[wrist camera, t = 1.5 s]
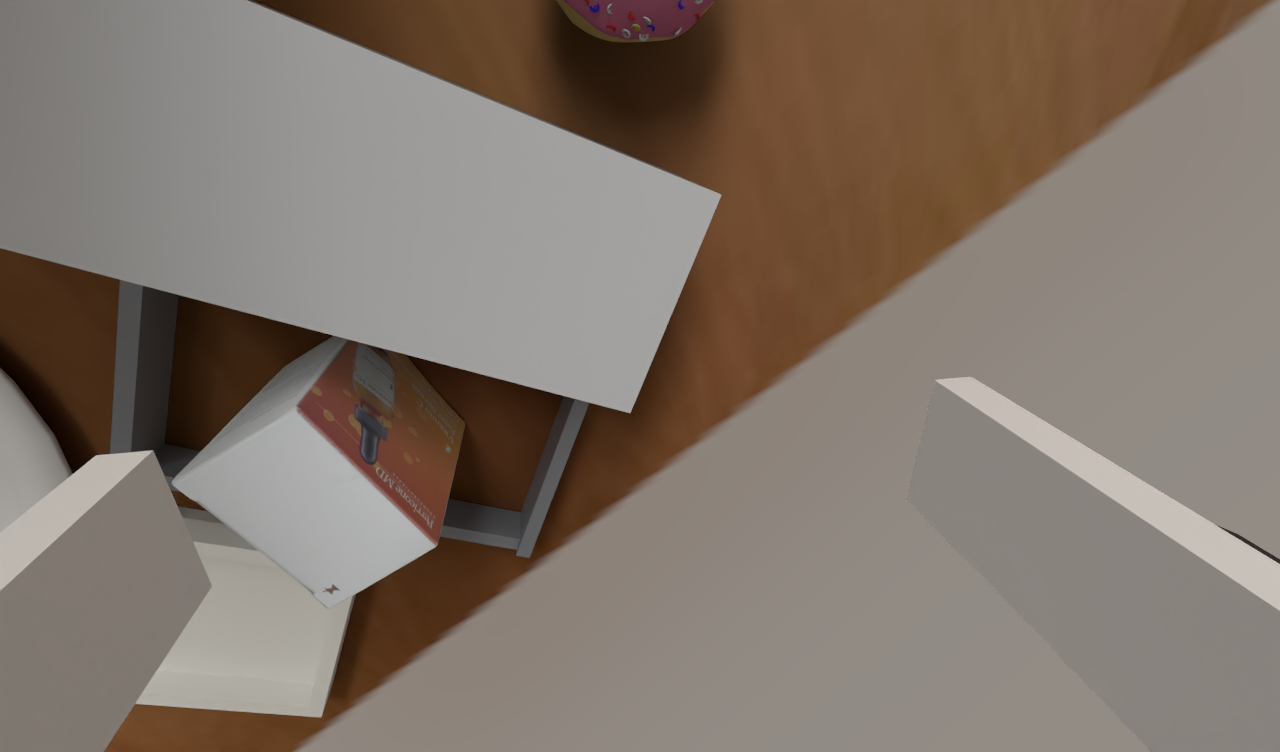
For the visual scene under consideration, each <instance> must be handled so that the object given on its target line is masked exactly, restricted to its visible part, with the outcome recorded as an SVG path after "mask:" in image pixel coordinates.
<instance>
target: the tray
mask: <svg viewBox="0 0 1280 752" xmlns="http://www.w3.org/2000/svg"><path fill="white" fill-rule="evenodd" d="M178 508H179V511H180V513H181V515H182V518H183V520H184V522H185V525H186V527H187V529H188V531H189V534H190V536H191V538H192V541H193V543H194V545H195V548H196V550H197V552H198V554H199V557H200V559H201V561H202V564H203V566H204V568H205V571H206V573H207V575H208V577H209V580H210V582H211V584H212V587H211V589H210V590H209V592H208V593H207V595H206V596H205V598H204V600H203V601H202V603H201V604H200V606H199V607H198V609H197V610H196V612H195V613H194V615H193V616H192V618H191V619H190V621H189V622H188V624H187V625H186V627H185V628H184V630H183V632H182V633H181V635H180V636H179V638H178V639H177V641H176V642H175V644H174V645H173V647H172V648H171V650H170V651H169V653H168V654H167V656H166V657H165V659H164V660H163V662H162V664H161V665H160V667H159V668H158V670H157V671H156V673H155V674H154V676H153V677H152V679H151V680H150V682H149V683H148V685H147V686H146V688H145V689H144V691H143V692H142V694H141V696H140V697H139V699H138V700H137V702H136V703H135V704H145V705H159V706H173V707H186V708H200V709H213V710H227V711H240V712H254V713H267V714H281V715H294V716H308V717H322V714H323V711H324V708H325V705H326V702H327V699H328V696H329V693H330V691H331V688H332V685H333V681H334V677H335V673H336V669H337V666H338V662H339V658H340V654H341V650H342V646H343V642H344V639H345V635H346V631H347V627H348V623H349V619H350V615H351V612H352V608H353V604H354V600H355V596H356V594H355V595H353V596H352V597H350V598H348V599H346V600H344V601H343V602H341V603H339V604H337V605H336V606H334V607H332V608H330V609H327V608H326V607H325V606H324V605H323V604H322V603H321V602H320V601H318V600H317V599H316V598H315V597H314V596H313V595H312V594H311V593H310V592H309V591H307V590H306V589H305V588H304V587H303V586H302V585H300V584H299V583H298V582H297V581H296V580H294V579H293V578H292V577H291V576H289V575H288V574H287V573H286V572H284V571H283V570H282V569H281V568H280V567H278V566H277V565H276V564H275V563H273V562H272V561H271V560H270V559H268V558H267V557H266V556H265V555H263V554H262V553H261V552H259V551H258V550H257V549H256V548H254V547H253V546H252V545H251V544H249V543H248V542H247V541H246V540H244V539H243V538H242V537H241V536H239V535H238V534H237V533H236V532H234V531H233V530H232V529H231V528H229V527H228V526H227V525H225V524H224V523H223V522H222V521H220V520H219V519H218V518H216V517H215V516H214V515H213V514H211V513H210V512H209V511H204V510H198V509H192V508H186V507H180V506H178Z"/></svg>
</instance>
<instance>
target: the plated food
mask: <svg viewBox="0 0 1280 752" xmlns="http://www.w3.org/2000/svg"><path fill="white" fill-rule="evenodd" d="M72 474H73V473H72V471H71V469H70V467H69V465H68V462H67V460H66V458H65V456H64V454H63V452H62V450H61V448H60V445H59V443H58V441H57V439H56V437H55V435H54V433H53V432H52V431H51V429H50V428H49V427H48V425H47V424H46V423H45V421H44V420H43V419H42V417H41V416H40V415H39V413H38V412H37V411H36V409H35V408H34V407H33V405H32V404H31V403H30V401H29V400H28V399H27V397H26V396H25V395H24V394H23V392H22V391H21V390H20V388H19V387H18V386H17V384H16V383H15V382H14V381H13V380H12V379H11V378H10V377H9V376H8V375H7V374H6V373H5V372H4V371H3V370H2V369H1V368H0V533H1V532H2V531H3V530H4V529H6V528H7V527H8V526H9V525H11V524H12V523H13V522H14V521H15V520H17V519H18V518H19V517H20V516H22V515H23V514H24V513H25V512H27V511H28V510H29V509H30V508H32V507H33V506H34V505H35V504H36V503H38V502H39V501H40V500H41V499H43V498H44V497H45V496H46V495H48V494H49V493H50V492H51V491H53V490H54V489H55V488H56V487H58V486H59V485H60V484H61V483H62V482H64V481H65V480H66V479H67V478H69V477H70V476H71V475H72Z"/></svg>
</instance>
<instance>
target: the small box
mask: <svg viewBox="0 0 1280 752" xmlns="http://www.w3.org/2000/svg"><path fill="white" fill-rule="evenodd" d="M464 428H465V422H464V421H463V420H462V419H461V418H460V417H459V416H458V415H457V413H456V412H455V411H454V410H453V409H452V408H451V407H450V406H449V405H448V404H447V403H446V402H445V400H444V399H443V398H442V397H441V396H440V395H439V394H438V392H437V391H436V390H435V389H434V388H433V387H432V385H431V384H430V383H429V382H428V381H427V380H426V378H425V377H424V376H423V375H422V374H421V372H420V371H419V370H418V369H417V368H416V367H415V365H414V364H413V363H412V362H411V361H410V359H409V358H408V357H407V356H406V355H405V354H402V353H398V352H394V351H390V350H387V349H383V348H379V347H375V346H371V345H368V344H364V343H360V342H356V341H352V340H348V339H345V338H341V337H337V336H332V337H331V338H329V339H327V340H326V341H324V342H323V343H321V344H319V345H318V346H316V347H314V348H313V349H311V350H310V351H308V352H306V353H305V354H303V355H302V356H300V357H298V358H297V359H295V360H294V361H292V362H291V363H289V364H288V365H286V366H285V367H283V368H282V369H281V370H280V371H279V372H278V374H276V375H275V376H274V377H273V378H272V379H271V380H270V381H269V383H268V384H267V385H265V386H264V387H263V388H262V390H261V391H260V392H259V393H258V394H257V395H256V396H255V397H254V398H253V399H252V400H251V401H250V402H249V403H248V404H247V405H246V406H245V407H244V408H243V409H242V410H241V411H240V412H239V413H238V414H237V415H236V416H235V417H234V418H233V419H232V420H231V421H230V422H229V423H228V424H227V425H226V426H225V427H224V428H223V429H222V430H221V431H220V432H219V433H218V434H217V435H216V436H215V437H214V438H213V439H212V440H211V442H210V443H209V444H208V445H207V446H206V447H205V448H204V449H203V450H202V451H201V452H200V453H199V454H198V455H197V456H196V457H195V458H194V459H193V460H192V461H191V462H190V463H189V464H188V465H187V466H186V467H185V468H184V469H183V470H182V471H181V472H180V473H179V474H178V475H177V476H176V477H175V478H174V479H173V481H172V485H173V486H174V487H175V488H177V489H178V490H179V491H181V492H182V493H183V494H184V495H186V496H187V497H188V498H190V499H191V500H193V501H195V502H197V503H198V504H199V505H201V506H202V507H204V508H205V509H206V510H208V511H209V512H210V513H211V514H213V515H214V516H215V517H216V518H218V519H219V520H220V521H222V522H223V523H224V524H225V525H227V526H228V527H229V528H231V529H232V530H233V531H234V532H236V533H237V534H238V535H239V536H241V537H242V538H243V539H244V540H246V541H247V542H248V543H249V544H251V545H252V546H253V547H254V548H256V549H257V550H258V551H259V552H261V553H262V554H263V555H265V556H266V557H267V558H268V559H270V560H271V561H272V562H273V563H275V564H276V565H277V566H278V567H280V568H281V569H282V570H283V571H284V572H286V573H287V574H288V575H289V576H291V577H292V578H293V579H294V580H296V581H297V582H298V583H299V584H300V585H302V586H303V587H304V588H305V589H306V590H307V591H309V592H310V593H311V594H312V595H313V596H314V597H315V598H316V599H317V600H318V601H320V602H321V603H322V604H323V605H324V606H325V607H326V608H327V609H330V608H332V607H334V606H336V605H337V604H339V603H341V602H343V601H344V600H346V599H348V598H350V597H352V596H353V595H355V594H357V593H358V592H360V591H362V590H364V589H365V588H367V587H369V586H370V585H372V584H374V583H376V582H377V581H379V580H381V579H382V578H384V577H386V576H387V575H389V574H391V573H393V572H394V571H396V570H398V569H400V568H401V567H403V566H405V565H406V564H408V563H410V562H412V561H413V560H415V559H417V558H418V557H420V556H422V555H423V554H425V553H427V552H428V551H430V550H432V549H434V548H435V547H436V546H437V545H438V542H439V537H440V533H441V529H442V524H443V520H444V516H445V512H446V508H447V503H448V499H449V494H450V490H451V486H452V481H453V477H454V472H455V468H456V464H457V459H458V456H459V450H460V446H461V442H462V438H463V433H464Z"/></svg>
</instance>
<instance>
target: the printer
mask: <svg viewBox="0 0 1280 752" xmlns="http://www.w3.org/2000/svg"><path fill="white" fill-rule="evenodd" d="M720 197H721V194H719V193H717V192H714V191H712V190H710V189H708V188H705V187H703V186H701V185H699V184H696V183H694V182H692V181H690V180H687V179H685V178H683V177H681V176H678V175H676V174H674V173H672V172H669V171H667V170H665V169H663V168H660V167H658V166H655V165H653V164H650V163H648V162H645V161H643V160H641V159H638V158H636V157H633V156H631V155H628V154H626V153H624V152H621V151H619V150H616V149H614V148H611V147H609V146H607V145H604V144H602V143H599V142H597V141H594V140H592V139H590V138H587V137H585V136H582V135H580V134H577V133H575V132H572V131H570V130H568V129H565V128H563V127H560V126H558V125H555V124H553V123H551V122H548V121H546V120H543V119H541V118H538V117H536V116H534V115H531V114H529V113H526V112H524V111H521V110H519V109H516V108H514V107H512V106H509V105H507V104H504V103H502V102H499V101H497V100H495V99H492V98H490V97H487V96H485V95H482V94H480V93H478V92H475V91H473V90H470V89H468V88H465V87H463V86H461V85H458V84H456V83H453V82H451V81H448V80H446V79H443V78H441V77H439V76H436V75H434V74H431V73H429V72H426V71H424V70H422V69H419V68H417V67H414V66H412V65H409V64H407V63H405V62H402V61H400V60H397V59H395V58H392V57H390V56H387V55H385V54H383V53H380V52H378V51H375V50H373V49H370V48H368V47H366V46H363V45H361V44H358V43H356V42H353V41H351V40H349V39H346V38H344V37H341V36H339V35H336V34H334V33H332V32H329V31H327V30H324V29H322V28H319V27H317V26H314V25H312V24H310V23H307V22H305V21H302V20H300V19H297V18H295V17H293V16H290V15H288V14H285V13H283V12H280V11H278V10H276V9H273V8H271V7H268V6H266V5H263V4H261V3H258V2H256V1H254V0H0V248H1V249H5V250H9V251H13V252H17V253H20V254H24V255H28V256H32V257H36V258H39V259H43V260H47V261H51V262H55V263H59V264H62V265H66V266H70V267H74V268H78V269H81V270H85V271H89V272H93V273H97V274H101V275H104V276H108V277H112V278H116V279H120V288H119V306H118V323H117V341H116V358H115V376H114V393H113V411H112V428H111V446H110V454H118V453H129V452H140V451H151V450H153V451H154V453H155V456H156V458H157V460H158V462H159V465H160V467H161V469H162V472H163V474H164V476H165V479H166V481H167V483H168V485H169V488H170V490H172V491H178V492H181V491H179V490H178V489H177V488H175V487H174V486H173V485H172V481H173V479H174V478H175V477H176V476H177V475H178V474H179V473H180V472H181V471H182V470H183V469H184V468H185V467H186V466H187V465H188V464H189V463H190V462H191V461H192V460H193V459H194V458H195V457H196V456H197V455H198V454H199V453H200V452H201V451H200V450H195V449H190V448H184V447H179V446H174V445H169V444H165V436H166V425H167V415H168V404H169V394H170V383H171V373H172V362H173V352H174V341H175V331H176V321H177V310H178V300H179V295H181V296H184V297H188V298H192V299H196V300H200V301H204V302H207V303H211V304H215V305H219V306H223V307H226V308H230V309H234V310H238V311H242V312H245V313H249V314H253V315H257V316H261V317H265V318H268V319H272V320H276V321H280V322H284V323H287V324H291V325H295V326H299V327H303V328H307V329H310V330H314V331H318V332H322V333H326V334H329V335H333V336H337V337H341V338H345V339H348V340H352V341H356V342H360V343H364V344H368V345H371V346H375V347H379V348H383V349H387V350H390V351H394V352H398V353H402V354H406V355H410V356H413V357H417V358H421V359H425V360H429V361H432V362H436V363H440V364H444V365H448V366H451V367H455V368H459V369H463V370H467V371H471V372H474V373H478V374H482V375H486V376H490V377H493V378H497V379H501V380H505V381H509V382H513V383H516V384H520V385H524V386H528V387H532V388H535V389H539V390H543V391H547V392H551V393H554V394H558V395H562V396H563V398H562V401H561V403H560V406H559V409H558V412H557V414H556V417H555V420H554V423H553V425H552V428H551V431H550V434H549V436H548V439H547V442H546V444H545V447H544V450H543V453H542V455H541V458H540V461H539V464H538V466H537V469H536V472H535V474H534V477H533V480H532V483H531V485H530V488H529V491H528V494H527V496H526V499H525V502H524V505H523V507H522V510H521V512H516V511H511V510H506V509H501V508H495V507H490V506H485V505H480V504H475V503H470V502H464V501H459V500H454V499H448V503H447V508H446V512H445V516H444V520H443V524H442V529H441V533H440V537H445V538H451V539H456V540H462V541H468V542H474V543H480V544H485V545H491V546H497V547H503V548H509V549H514V550H516V556H521V557H527V558H530V555H531V553H532V550H533V548H534V545H535V542H536V540H537V537H538V535H539V532H540V530H541V527H542V524H543V522H544V519H545V517H546V514H547V511H548V509H549V506H550V504H551V501H552V498H553V496H554V493H555V491H556V488H557V485H558V483H559V480H560V478H561V475H562V473H563V470H564V467H565V465H566V462H567V460H568V457H569V454H570V452H571V449H572V447H573V444H574V441H575V439H576V436H577V434H578V431H579V429H580V426H581V423H582V421H583V418H584V416H585V413H586V410H587V408H588V405H589V403H593V404H596V405H600V406H604V407H608V408H612V409H616V410H619V411H623V412H627V413H631V411H632V408H633V406H634V403H635V401H636V399H637V396H638V394H639V391H640V389H641V387H642V384H643V382H644V379H645V377H646V375H647V372H648V370H649V367H650V365H651V363H652V360H653V358H654V355H655V353H656V351H657V348H658V346H659V344H660V341H661V339H662V336H663V334H664V332H665V329H666V327H667V324H668V322H669V320H670V317H671V315H672V312H673V310H674V308H675V305H676V303H677V300H678V298H679V296H680V293H681V291H682V288H683V286H684V284H685V281H686V279H687V276H688V274H689V272H690V269H691V267H692V264H693V262H694V260H695V257H696V255H697V252H698V250H699V248H700V245H701V243H702V241H703V238H704V236H705V233H706V231H707V229H708V226H709V224H710V221H711V219H712V217H713V214H714V212H715V209H716V207H717V205H718V202H719V200H720Z"/></svg>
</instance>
